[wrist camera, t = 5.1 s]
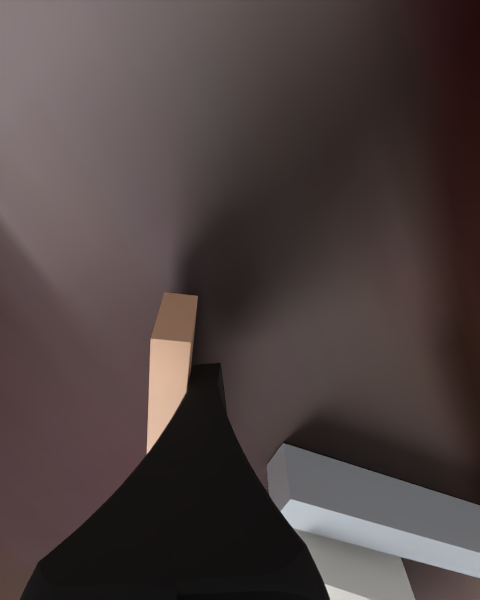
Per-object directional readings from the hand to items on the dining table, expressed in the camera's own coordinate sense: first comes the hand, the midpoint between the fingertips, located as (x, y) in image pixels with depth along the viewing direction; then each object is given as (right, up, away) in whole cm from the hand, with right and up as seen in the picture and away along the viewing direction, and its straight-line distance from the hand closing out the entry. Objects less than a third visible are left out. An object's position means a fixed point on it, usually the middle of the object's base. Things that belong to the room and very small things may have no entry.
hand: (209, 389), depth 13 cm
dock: (+6, -9, +8) cm, 13 cm away
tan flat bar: (-2, -4, +4) cm, 6 cm away
